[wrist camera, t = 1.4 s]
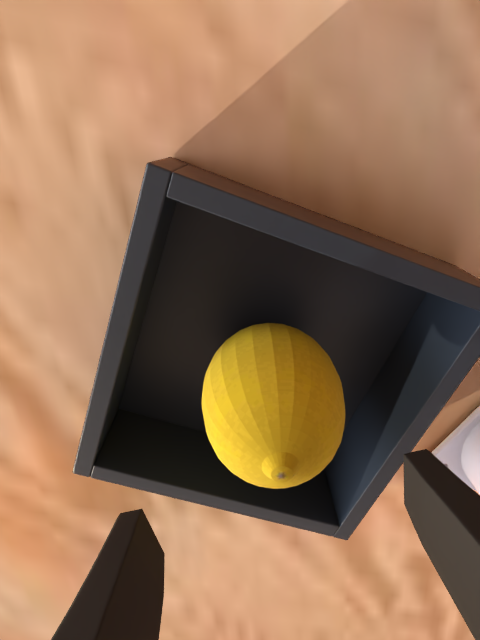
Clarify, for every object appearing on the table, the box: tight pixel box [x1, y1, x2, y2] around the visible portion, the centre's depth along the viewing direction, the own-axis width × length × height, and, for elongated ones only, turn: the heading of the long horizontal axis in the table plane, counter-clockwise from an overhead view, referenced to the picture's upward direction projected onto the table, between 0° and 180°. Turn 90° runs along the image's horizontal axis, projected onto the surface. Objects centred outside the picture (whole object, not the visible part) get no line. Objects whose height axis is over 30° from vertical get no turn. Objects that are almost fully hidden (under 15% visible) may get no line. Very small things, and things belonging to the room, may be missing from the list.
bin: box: [73, 157, 480, 540], centre depth 17 cm, size 14×14×4 cm
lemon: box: [202, 323, 345, 489], centre depth 15 cm, size 6×6×8 cm
